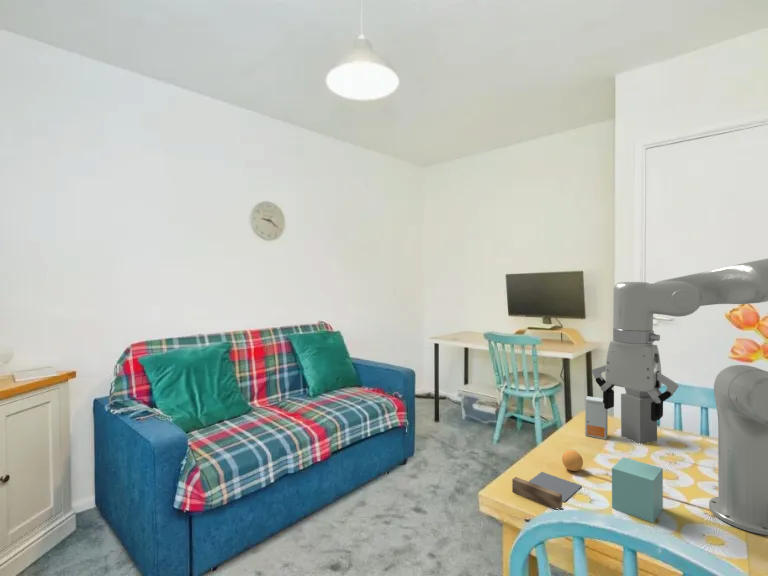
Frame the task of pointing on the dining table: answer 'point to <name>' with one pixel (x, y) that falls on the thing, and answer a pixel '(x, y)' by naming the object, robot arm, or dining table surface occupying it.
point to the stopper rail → (537, 493)
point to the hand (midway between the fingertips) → (631, 413)
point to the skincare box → (595, 418)
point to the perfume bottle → (637, 417)
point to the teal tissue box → (637, 489)
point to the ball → (572, 460)
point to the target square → (556, 484)
